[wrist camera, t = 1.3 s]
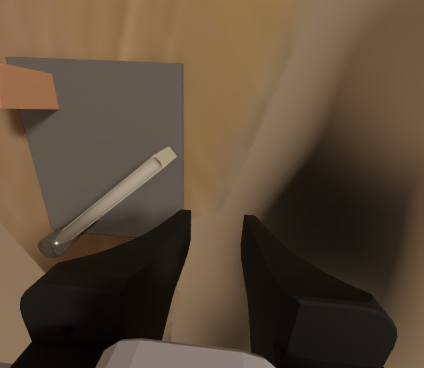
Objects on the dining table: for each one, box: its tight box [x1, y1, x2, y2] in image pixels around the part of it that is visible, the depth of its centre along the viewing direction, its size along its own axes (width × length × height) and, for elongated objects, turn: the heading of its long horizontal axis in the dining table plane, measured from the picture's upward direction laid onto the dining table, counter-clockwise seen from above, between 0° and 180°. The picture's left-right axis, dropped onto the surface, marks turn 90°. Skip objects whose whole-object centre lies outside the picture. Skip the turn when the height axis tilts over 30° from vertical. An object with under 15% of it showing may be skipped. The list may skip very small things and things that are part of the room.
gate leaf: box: [56, 147, 177, 244], centre depth 18 cm, size 12×1×5 cm, turn 127°
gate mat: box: [5, 57, 183, 237], centre depth 20 cm, size 18×16×1 cm
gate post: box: [38, 211, 97, 258], centre depth 21 cm, size 2×2×6 cm
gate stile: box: [0, 63, 59, 109], centre depth 16 cm, size 3×2×5 cm, turn 177°
